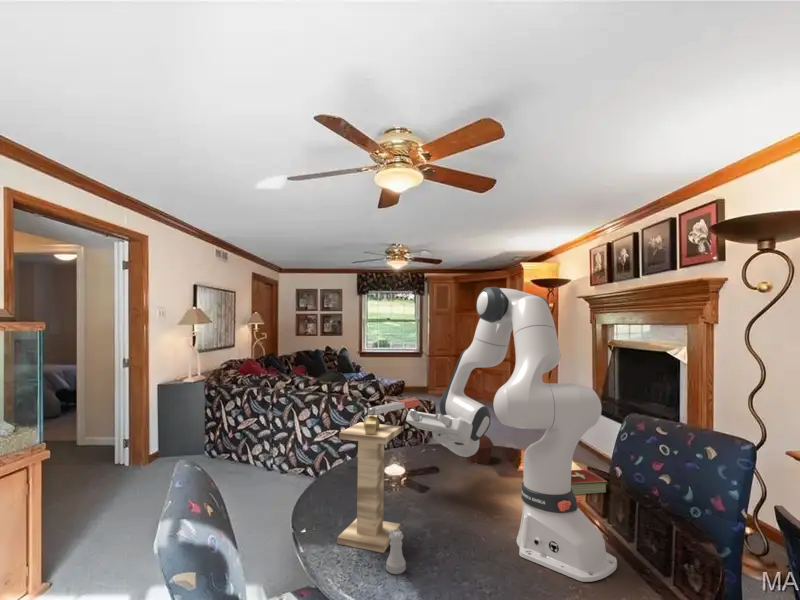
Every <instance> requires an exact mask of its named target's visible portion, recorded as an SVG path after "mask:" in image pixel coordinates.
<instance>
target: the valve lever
mask: <svg viewBox="0 0 800 600" xmlns="http://www.w3.org/2000/svg"><path fill="white" fill-rule="evenodd" d="M419 405H420V399H419V398H414V397H409V398H404V399H400V400H397V401H395V402H389V403H385V404H380V405H376V406H370V407H367V416H368V415H377V416H378V415H380V414H385V413H388V412H394V411H397V410H401V409H412V408H415V407H418V406H419Z"/></svg>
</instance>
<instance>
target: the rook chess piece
mask: <svg viewBox="0 0 800 600" xmlns="http://www.w3.org/2000/svg"><path fill="white" fill-rule="evenodd" d="M389 538H390V540H391V542H390V545H389V546H390V548H389V549H390V550H389V555H388V557H387V559H386V561H385V570H386V571H387V572H388V573H389V574H392V575H401V574H403V573H404V572H405V571H406V569H407V565H406V564H407V562H406V560H405V557H404V555H403V549H402V547H403V541H402V540H403V539H404V534H403V531H402V530H399V529H398V531H396V529H394V532H393V530H391V532H390V535H389Z"/></svg>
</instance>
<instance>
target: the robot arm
mask: <svg viewBox="0 0 800 600" xmlns="http://www.w3.org/2000/svg"><path fill="white" fill-rule="evenodd" d="M475 303H476V305H475V308H476V313H477V315H478V317H479V319H478V322H477V325H476V327H475V332H474V336H473V339H472V342H471V344H470V345H469V346H468V348H465V349H464V350H462V352H461V354H460V355H459V357H458V359H457V362H456V365H455V367H454V370H453V372H452V375H451V377H450V379H449V382H448V384H447V387H446V389H445V391H444V393H443V394H442V396H441V397H440V400H439V411H440V413H435V414H433V413H428V412H422V411H421V412H420V411H418V410H416V409H414V408H409V411H408V413H407V415H406V419H405V422H406V423H408V424H409V425H411V426H413V427H415V428H417V429H420V430H423V431H428V432H431V435H432V437H433V439H434V440H435V441H436V443H439V444H440V445H442V446H443V447H445V448H447V449H448V450H449V451H450V452H452V453H453V454H455V455H457V456H460V457H463V458H464V457H465V458H467V457H469V456H472V455H474V454H475V453H476V452H477V450H478V448H479V439H480V438H481V437H482V436H483V435H485V434H486V433H487V432H488V429H489V428H490V425H491V421H492V420H491V419H492V418H491V412H490V409H489V408H488V406H486V405H484V404H483V403H480V402H479V401H476V400H475V399H473V398H471V397H469V396H468V395H466V394H465V388H466V385H467V383H468V380H469V378H470V375H471V373H472V371H473V370H474V369H476V368H477V369H478V368H485V369H486V368H492V367H495V366H498V365H499V364H501V363H502V362H503V361H504V360H505V358H506V355H507V352H508V350H509V344H510V341H511V334H513V341H514V349H515V350H514V351H515V363H514V364H515V365H514V369H513V372H512V374H511V376H510V377H509V379H508V380H507V381H506V382H505V383H504V384H503V385H502V386H501V387H499V388H498V389H497V391H496V392H495V395H494V398H493V411H494V413H495V414H494V415H495V416H496V418H497V419H498V421H499V423H500V424H502V425H503V426H507V427H511V428H515V429H522V430H545V432H544V434H543V436H542V437H541V438H539V440H537V441H535V442H533V443H531V444H529V446H527V448H526V449H525V451H524V453H523V457H522V458H523V470H522V471H523V474H522V477H523V478H522V479H523V480H522V482H521V497H520V498H521V500H522V508H521V509H522V511H521V518H520V519H521V520H520V525H519V529H518V530H519V531H518V532H517V533H518V534H517V537H516V544H517V546H518V548H519V553H518V554H519V556H520V557H521V558H523V559H525V560H528V561H530V562H533V563H536V564H537V565H541V566H543V567H545V568H547V569H550V570H552V571H555V572H557V573H560V574H561V575H565V576H566V577H569V578H572V579H573V580H577V581H578V582H583V583H587V582H589V583H591V582H595V581H596V582H597V581H599V580H602V579H605V578H607V577H608V576H610V575H611V574H613V573H614V572H615V571H616V569H617V568H618V562H617V561H618V560H617V558H616V557H615V556H613V555H612V554H610V553H609V552H607V549H606V548H607V547H606V543H605V539H604V536H603V533H602V532H601V531H600V530H599V529H598V528H597V526H595V525H594V523H593V522H592V521H591V520H590V519H589V518H588V517H587V515H585V513H584V512H583V511H582V510H581V509H580V508H579V504H578V503H579V502H581V501H582V500H583V499H581V498H582V497H583V496H582V495H579V496H577V497H576V494H574V492H573V489H572V488H571V470H573V469H572V467H573V457H574V453H575V450H576V448H577V445H578V444H579V442H580V440H581V439H582V437H583V436H584V435H585V434H586V433H587V432H588V431H589V430H590V429H591V428H593V427H594V426H595V425H596V424H597V423H598V422H599V420H600V418H601V415H602V403H601V400H600V397H599V395H598V393H596V391H595V390H594V389H593V388H592V387H589V386H586V385H582V384H581V385H580V384H575V383H559V382H558V383H555V382H554V383H553V382H551V383H549V382H548V383H546V382H544V380H543V375H544V374H546V373H548V372H550V371H552V370H554V369H555V368H556V367H557V366H558V365H559V363H560V362H561V357H562V356H561V350H560V344H559V339H558V334H557V329H556V325H555V322H554V317H553V314H552V312H551V308H550V304H549V302H548V300H547V299H546V298H544V297H543V296H541V295H538V294H534V293H533V294H532V293H528V292H525V291H522V290H518V289H513V288H507V287H506V288H505V287H498V286H489V287H484V288H483V289H482V290H481V291H480V292H479V294H478V296H477V300H476V302H475Z"/></svg>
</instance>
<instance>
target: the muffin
mask: <svg viewBox="0 0 800 600" xmlns="http://www.w3.org/2000/svg"><path fill="white" fill-rule="evenodd" d="M493 448H494V443H493V441H492V439H490V437H488V436H487V435H485V434H484V435H483V436H482V437H481V438H480V439H479V448H478V450H477V452H476V453H475V454H474V455H472V456H469V457H466V462H468V461H469V462H468V463H470V462H471V463H477V464H485V465H487V464H486V463H488V464H490V462H491V456H492V449H493ZM471 463H470V464H471ZM477 464H476V465H477Z"/></svg>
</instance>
